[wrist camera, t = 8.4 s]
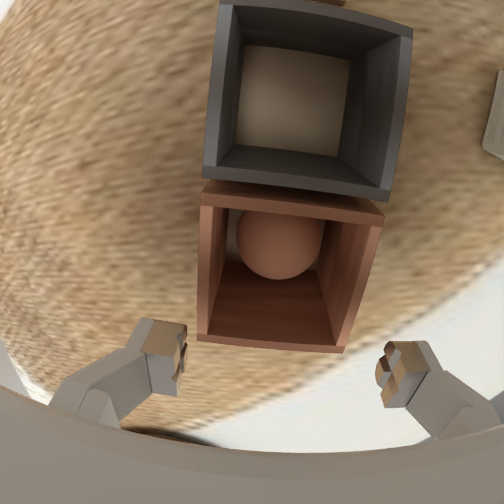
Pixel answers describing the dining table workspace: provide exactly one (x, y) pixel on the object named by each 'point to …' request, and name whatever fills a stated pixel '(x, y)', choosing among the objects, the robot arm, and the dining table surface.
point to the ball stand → (333, 2)
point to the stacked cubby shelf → (297, 164)
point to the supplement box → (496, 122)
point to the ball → (277, 243)
